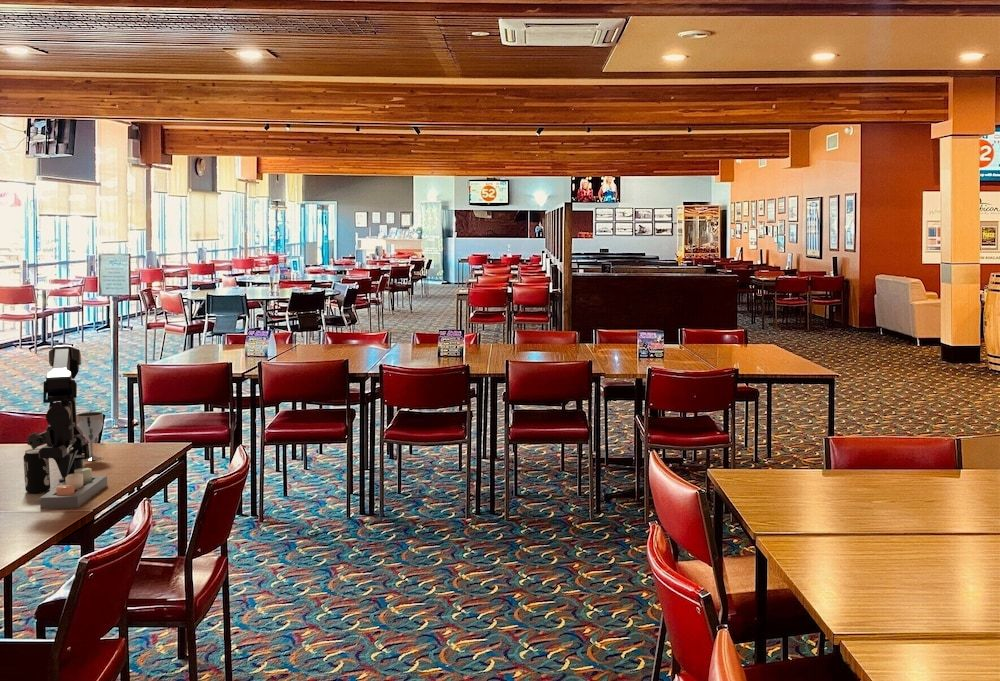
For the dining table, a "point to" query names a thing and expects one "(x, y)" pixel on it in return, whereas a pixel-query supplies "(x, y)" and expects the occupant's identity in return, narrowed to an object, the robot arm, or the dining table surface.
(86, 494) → the egg tray
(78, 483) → the beige domed piece
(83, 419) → the wine glass
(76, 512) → the dining table surface
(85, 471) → the pale green egg
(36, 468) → the beverage can
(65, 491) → the orange rounded dome
